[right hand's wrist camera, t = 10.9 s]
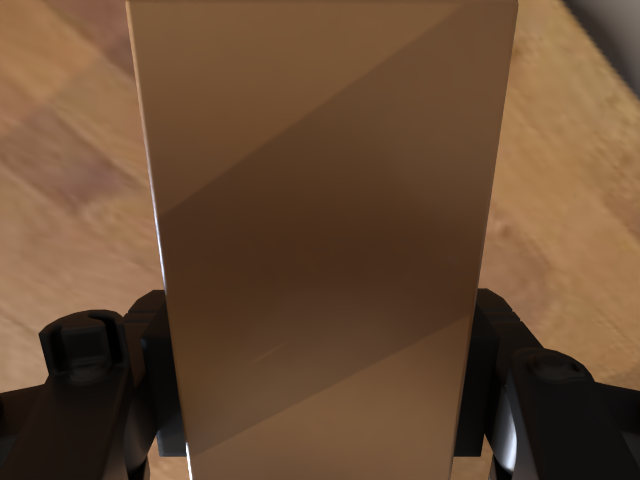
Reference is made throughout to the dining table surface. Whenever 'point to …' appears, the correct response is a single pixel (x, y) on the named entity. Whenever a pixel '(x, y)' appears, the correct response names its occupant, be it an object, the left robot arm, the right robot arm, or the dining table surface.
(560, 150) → the dining table surface
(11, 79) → the dining table surface
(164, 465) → the dining table surface
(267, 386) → the post
